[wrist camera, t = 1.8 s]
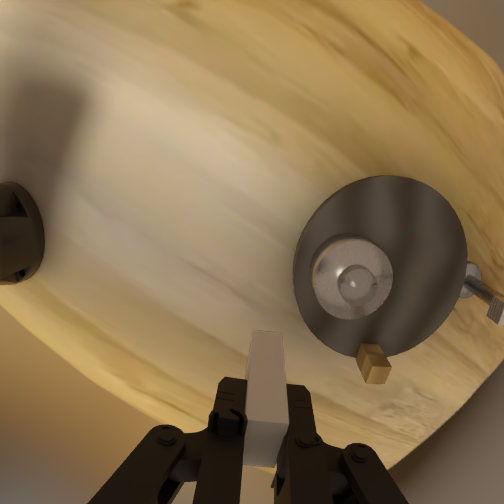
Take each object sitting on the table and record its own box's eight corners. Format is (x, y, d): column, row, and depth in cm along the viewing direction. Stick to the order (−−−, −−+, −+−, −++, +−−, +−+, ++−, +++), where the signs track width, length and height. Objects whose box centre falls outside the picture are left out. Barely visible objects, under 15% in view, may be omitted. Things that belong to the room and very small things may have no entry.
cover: (302, 298, 35) (309, 322, 29) (316, 227, 33) (326, 239, 27) (369, 307, 35) (385, 330, 29) (387, 239, 33) (407, 252, 27)
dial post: (444, 294, 38) (496, 338, 25) (454, 259, 36) (512, 294, 24) (472, 297, 38) (524, 338, 25) (482, 264, 36) (539, 297, 24)
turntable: (277, 343, 39) (279, 377, 32) (310, 157, 33) (322, 155, 26) (428, 354, 39) (450, 382, 32) (474, 198, 33) (508, 206, 26)
